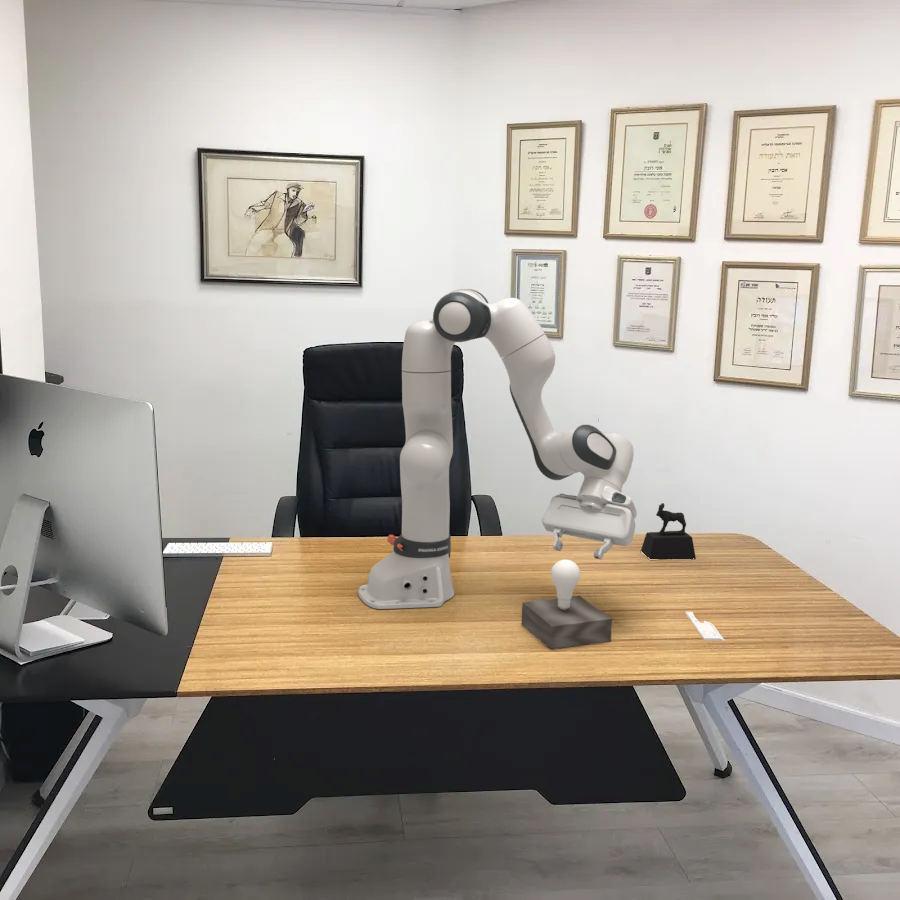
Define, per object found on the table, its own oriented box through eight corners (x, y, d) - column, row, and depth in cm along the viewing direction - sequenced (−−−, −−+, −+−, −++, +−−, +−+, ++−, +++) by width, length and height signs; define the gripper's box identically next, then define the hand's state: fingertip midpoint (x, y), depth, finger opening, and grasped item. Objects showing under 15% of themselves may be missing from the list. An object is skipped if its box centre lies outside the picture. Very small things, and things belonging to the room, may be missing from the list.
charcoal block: (550, 649, 190) (552, 626, 189) (521, 624, 203) (522, 602, 202) (610, 641, 195) (612, 618, 194) (578, 616, 208) (579, 595, 207)
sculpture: (639, 551, 256) (643, 499, 253) (686, 551, 258) (690, 498, 254) (648, 561, 248) (652, 506, 245) (696, 560, 250) (701, 506, 247)
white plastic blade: (707, 615, 212) (707, 610, 211) (727, 642, 197) (727, 638, 197) (685, 614, 212) (685, 610, 211) (703, 642, 197) (703, 637, 197)
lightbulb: (558, 616, 194) (561, 566, 192) (543, 606, 200) (546, 557, 198) (583, 612, 197) (586, 563, 195) (568, 603, 202) (571, 554, 200)
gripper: (550, 484, 208) (529, 537, 202) (638, 499, 198) (618, 555, 192) (558, 500, 213) (536, 551, 207) (643, 515, 203) (624, 570, 196)
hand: (576, 553), depth 199 cm, fingers open, 8 cm apart
